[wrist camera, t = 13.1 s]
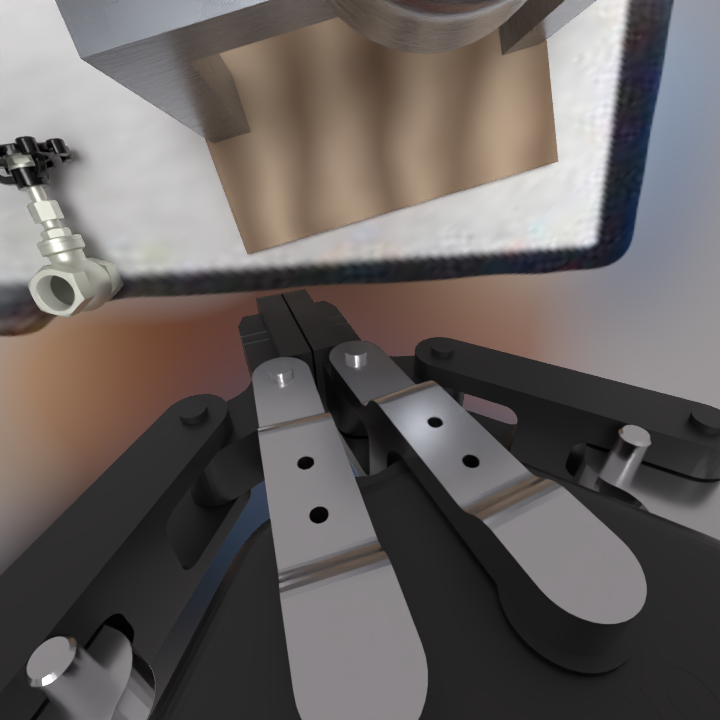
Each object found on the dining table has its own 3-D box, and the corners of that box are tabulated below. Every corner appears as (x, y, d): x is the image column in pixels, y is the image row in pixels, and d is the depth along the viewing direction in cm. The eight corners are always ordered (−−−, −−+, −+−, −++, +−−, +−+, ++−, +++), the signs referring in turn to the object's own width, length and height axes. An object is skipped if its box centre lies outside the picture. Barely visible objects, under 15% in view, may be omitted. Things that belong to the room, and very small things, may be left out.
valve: (148, 292, 37) (86, 145, 32) (112, 309, 30) (30, 129, 26) (75, 310, 37) (4, 165, 32) (25, 331, 30) (-71, 154, 26)
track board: (250, 252, 36) (247, 254, 35) (142, -45, 29) (132, -58, 27) (549, 163, 36) (558, 161, 34) (515, -161, 28) (524, -181, 27)
